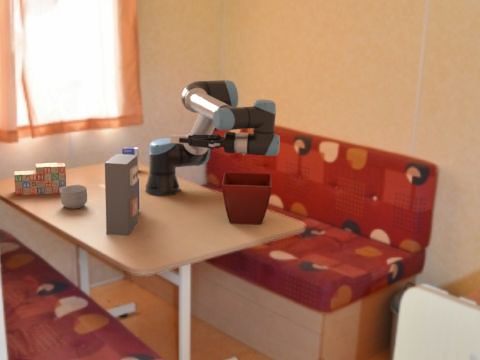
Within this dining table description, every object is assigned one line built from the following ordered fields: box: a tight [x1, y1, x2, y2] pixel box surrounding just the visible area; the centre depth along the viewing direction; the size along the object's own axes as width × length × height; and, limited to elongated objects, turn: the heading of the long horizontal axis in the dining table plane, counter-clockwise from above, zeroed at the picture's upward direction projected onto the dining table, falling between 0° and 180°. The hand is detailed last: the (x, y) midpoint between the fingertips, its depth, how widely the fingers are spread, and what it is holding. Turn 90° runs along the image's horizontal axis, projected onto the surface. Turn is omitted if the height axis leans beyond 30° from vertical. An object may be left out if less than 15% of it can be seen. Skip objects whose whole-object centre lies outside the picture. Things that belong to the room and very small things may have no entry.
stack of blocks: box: [13, 162, 67, 196], centre depth 280 cm, size 21×6×12 cm, turn 108°
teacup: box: [59, 183, 88, 210], centre depth 265 cm, size 14×11×8 cm
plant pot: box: [221, 171, 273, 225], centre depth 255 cm, size 19×19×17 cm
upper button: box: [130, 165, 137, 186], centre depth 236 cm, size 8×6×6 cm
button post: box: [104, 153, 139, 237], centre depth 238 cm, size 8×14×27 cm, turn 173°
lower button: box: [130, 196, 139, 217], centre depth 239 cm, size 8×6×6 cm
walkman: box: [121, 147, 140, 159], centre depth 318 cm, size 8×3×12 cm, turn 102°
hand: (171, 138), depth 230 cm, fingers closed
